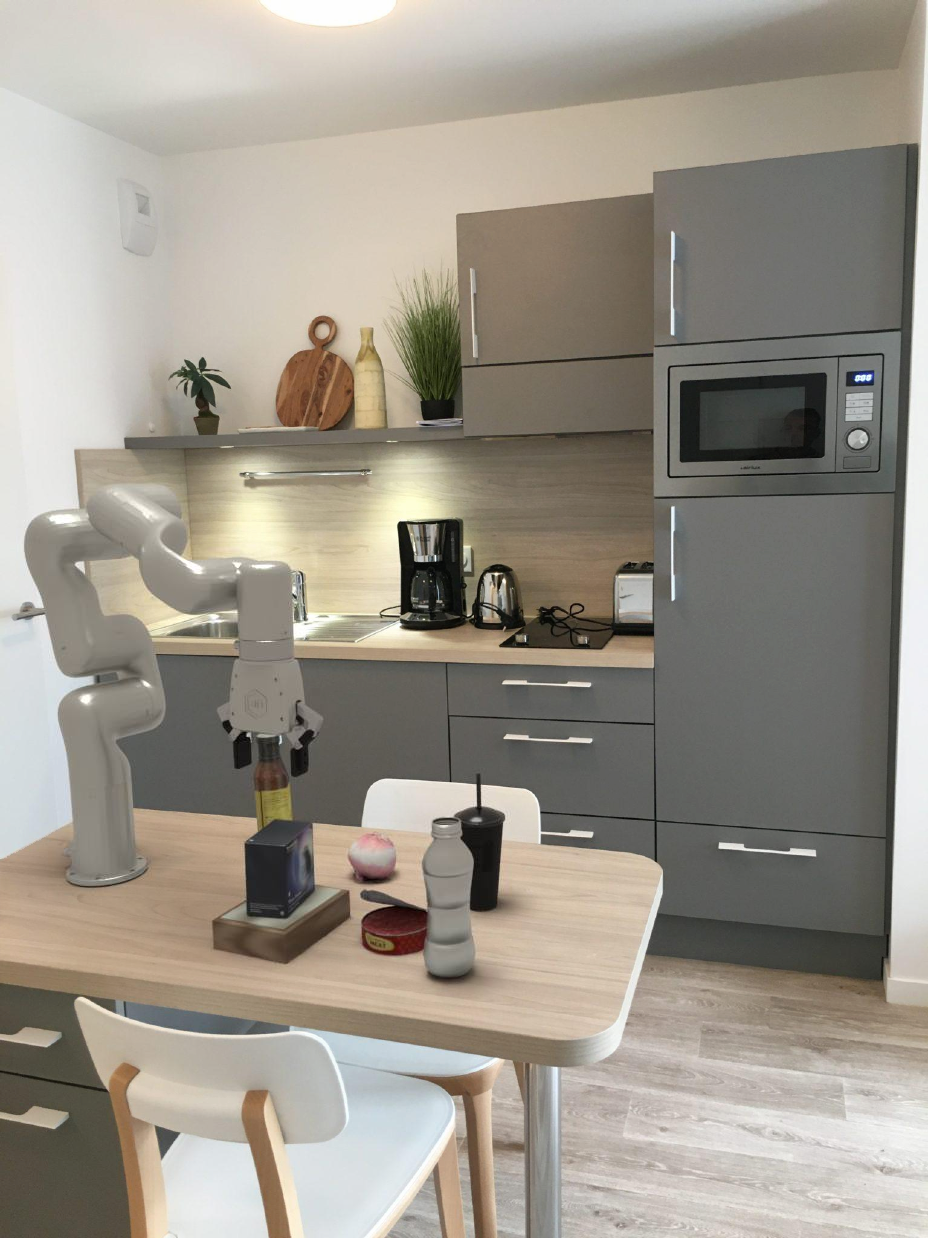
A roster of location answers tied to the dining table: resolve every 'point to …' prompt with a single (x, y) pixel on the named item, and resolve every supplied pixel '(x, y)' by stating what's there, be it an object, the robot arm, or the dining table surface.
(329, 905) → the base
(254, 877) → the small box
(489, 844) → the drinking cup
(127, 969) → the dining table surface
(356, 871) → the onion
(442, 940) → the plastic bottle
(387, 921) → the canned food
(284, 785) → the sauce bottle
